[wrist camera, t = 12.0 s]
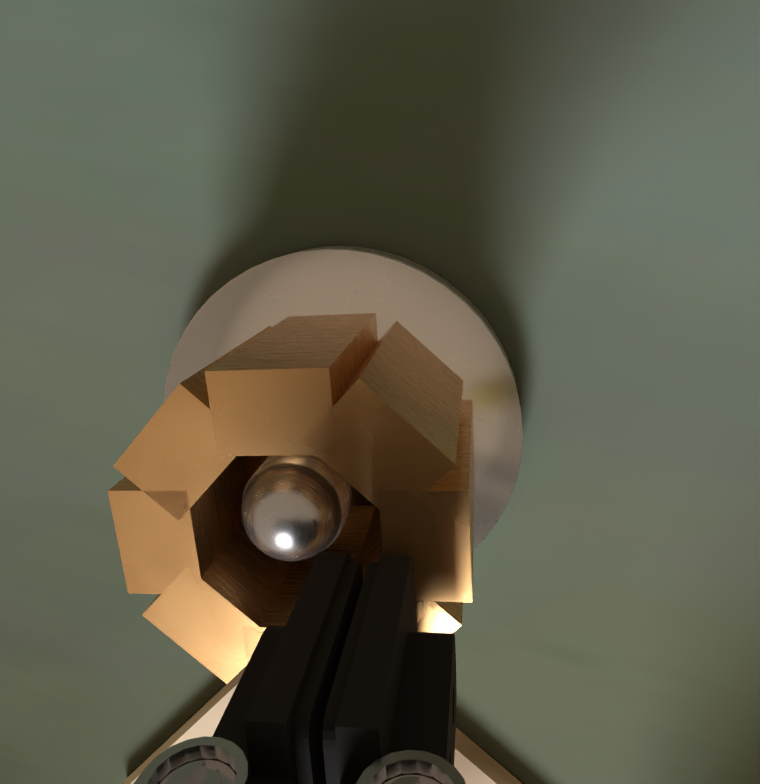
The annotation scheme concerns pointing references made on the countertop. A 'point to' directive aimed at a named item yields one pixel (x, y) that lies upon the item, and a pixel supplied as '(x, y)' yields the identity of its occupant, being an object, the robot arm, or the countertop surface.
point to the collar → (297, 437)
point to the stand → (474, 764)
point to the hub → (390, 303)
